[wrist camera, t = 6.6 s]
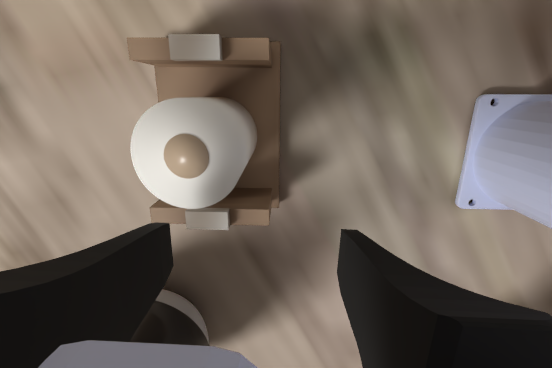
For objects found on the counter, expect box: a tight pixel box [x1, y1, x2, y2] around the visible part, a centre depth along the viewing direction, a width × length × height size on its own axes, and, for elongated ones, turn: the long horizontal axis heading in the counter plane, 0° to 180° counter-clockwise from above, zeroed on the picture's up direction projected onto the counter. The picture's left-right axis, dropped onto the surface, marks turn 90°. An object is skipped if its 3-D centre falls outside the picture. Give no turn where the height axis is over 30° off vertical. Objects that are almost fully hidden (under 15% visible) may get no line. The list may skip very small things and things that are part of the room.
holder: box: [127, 34, 281, 230], centre depth 18 cm, size 8×11×6 cm
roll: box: [131, 97, 257, 209], centre depth 16 cm, size 5×5×7 cm
